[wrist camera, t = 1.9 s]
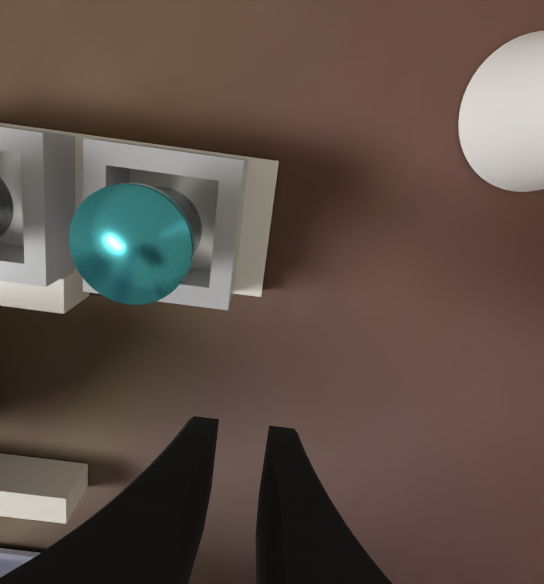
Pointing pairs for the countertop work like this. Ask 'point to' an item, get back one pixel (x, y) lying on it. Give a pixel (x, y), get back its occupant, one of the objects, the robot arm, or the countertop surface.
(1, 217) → the plunger inner
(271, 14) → the countertop surface
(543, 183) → the cosmetic bottle
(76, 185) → the white knob panel
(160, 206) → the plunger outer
